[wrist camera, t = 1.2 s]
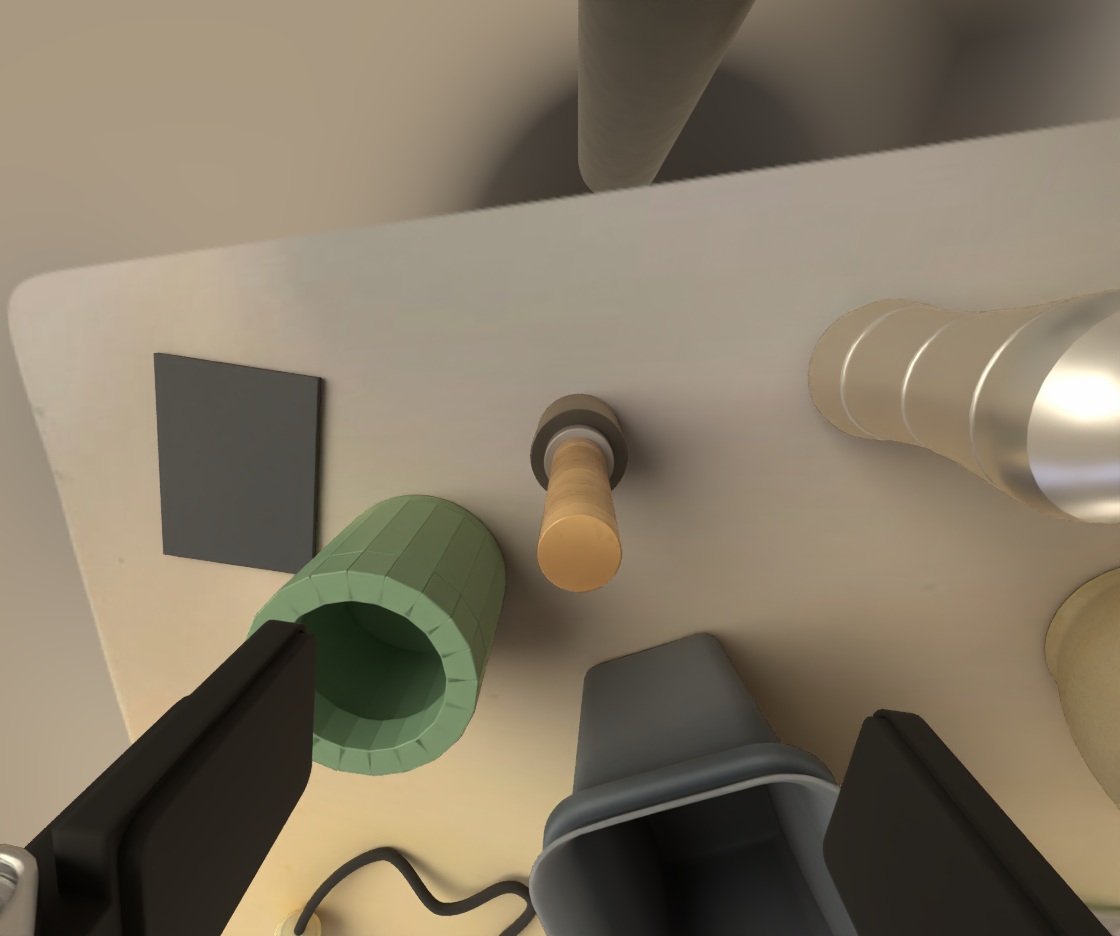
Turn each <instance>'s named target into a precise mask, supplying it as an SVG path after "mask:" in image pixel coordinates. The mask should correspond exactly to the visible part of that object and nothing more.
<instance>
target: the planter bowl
mask: <svg viewBox="0 0 1120 936" xmlns="http://www.w3.org/2000/svg"><path fill="white" fill-rule="evenodd" d="M1045 658H1046V663H1047V666H1048V668H1049V671H1050V673H1051V675H1052V677H1053V678H1054V680H1055V681H1056V682H1057V684H1058V688H1059V694H1060V700H1061V704H1062V708H1063V711H1064V715H1065V718H1066V721H1067V724H1068V726H1069V729H1070V732H1071V734H1072V737H1073V739H1074V741H1075V744H1076V746H1077V748H1078V750H1079V752H1080V754H1081V755H1082V757H1083V759H1084V761H1085V763H1086V764H1087V766H1088V768H1089V769H1090V771H1091V772H1092V774H1093V775H1094V777H1095V778H1096V780H1097V781H1098V782H1099V784H1100V785H1101V787H1102V788H1103V789H1104V791H1105V792H1106V793H1107V795H1108V796H1109V797H1110V799H1111V800H1112V801H1113V802H1114V804H1115V805H1116V806H1117V807H1118V808H1119V810H1120V568H1117V569H1114V570H1111V571H1109V572H1106V573H1104V574H1102V575H1100V576H1098V577H1096V578H1094V579H1093V580H1091V581H1089V582H1087V583H1086V584H1084V585H1083V586H1081V587H1080V588H1079V589H1078V590H1076V591H1075V592H1074V593H1073V594H1072V595H1071V596H1070V597H1069V598H1068V599H1067V600H1066V601H1065V602H1064V604H1063V605H1062V606H1061V607H1060V609H1059V610H1058V611H1057V613H1056V615H1055V617H1054V618H1053V620H1052V622H1051V624H1050V627H1049V630H1048V633H1047V636H1046V642H1045Z"/></svg>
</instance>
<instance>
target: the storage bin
mask: <svg viewBox="0 0 1120 936" xmlns="http://www.w3.org/2000/svg"><path fill="white" fill-rule="evenodd" d="M840 789H841V788H840V787H838V786H837V783H836V781H835V779H834V777H833V775H832V773H831V771H830V770H829V769H828V768H827V767H826V765H825V764H824V763H823V762H822V761H820V760H819V759H818V758H817V757H815V756H814V755H812V754H810V753H809V752H807V751H804V750H802V749H800V748H797V747H794V746H791V745H787V744H782V743H781V742H780V740H779V739H778V737H777V736H776V734H775V732H774V731H773V729H772V728H771V726H770V724H769V723H768V721H767V720H766V718H765V717H764V715H763V713H762V712H761V710H760V708H759V707H758V705H757V704H756V702H755V700H754V699H753V697H752V695H751V694H750V692H749V690H748V689H747V687H746V686H745V684H744V682H743V681H742V679H741V677H740V676H739V674H738V672H737V671H736V669H735V667H734V666H733V664H732V663H731V661H730V659H729V658H728V656H727V654H726V653H725V651H724V649H723V648H722V646H721V645H720V643H719V641H718V640H717V639H716V638H715V637H714V636H712V635H709V634H707V633H701V634H696V635H693V636H690V637H686V638H683V639H680V640H677V641H674V642H671V643H668V644H664V645H661V646H658V647H655V648H652V649H649V650H645V651H642V652H639V653H636V654H633V655H629V656H626V657H623V658H620V659H616V660H613V661H609V662H606V663H603V664H600V665H597V666H594V667H592V668H591V669H589V670H588V672H587V673H586V675H585V678H584V686H583V696H582V706H581V716H580V726H579V736H578V746H577V756H576V766H575V775H574V785H573V794H572V795H571V796H569V797H567V798H566V799H564V800H563V801H562V802H560V803H559V804H558V805H557V806H556V808H555V809H554V810H553V811H552V813H551V814H550V816H549V818H548V820H547V822H546V826H545V830H544V838H543V851H542V853H541V854H540V855H539V856H538V858H537V859H536V861H535V863H534V865H533V867H532V870H531V874H530V877H529V894H530V898H531V902H532V905H533V907H534V909H535V911H536V914H537V916H538V918H539V920H540V922H541V924H542V927H543V929H544V931H545V933H546V935H547V936H858V935H857V933H856V930H855V928H854V926H853V924H852V922H851V920H850V917H849V915H848V913H847V911H846V909H845V907H844V904H843V902H842V900H841V898H840V896H839V893H838V891H837V889H836V887H835V885H834V883H833V880H832V878H831V876H830V874H829V872H828V869H827V867H826V864H825V861H824V857H823V840H824V836H825V834H826V831H827V828H828V825H829V822H830V819H831V816H832V813H833V810H834V807H835V804H836V801H837V798H838V795H839V792H840Z"/></svg>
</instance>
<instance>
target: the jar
mask: <svg viewBox="0 0 1120 936" xmlns="http://www.w3.org/2000/svg"><path fill="white" fill-rule="evenodd" d="M505 587H506V571H505V564H504V560H503V556H502V554H501V551H500V548H499V546H498V544H497V543H496V541H495V539H494V537H493V536H492V535H491V533H490V532H489V530H488V529H487V528H486V527H485V526H484V525H483V524H482V523H481V521H479V520H478V519H477V518H476V517H475V516H473V515H472V514H471V513H469V512H468V511H466V510H465V509H463V508H462V507H460V506H458V505H456V504H454V503H452V502H449V501H446V500H443V499H440V498H435V497H431V496H422V495H408V496H400V497H395V498H391V499H388V500H385V501H383V502H380V503H378V504H376V505H374V506H373V507H371V508H369V509H368V510H366V511H365V512H364V513H363V514H362V515H360V516H358V517H357V518H356V519H355V520H354V521H353V522H352V523H351V524H350V525H349V526H347V527H346V528H345V529H344V530H343V531H342V532H341V533H340V534H339V535H338V536H337V537H336V538H335V539H333V540H332V541H331V542H330V543H329V544H328V545H327V546H326V547H325V548H324V549H323V550H322V551H321V552H320V553H318V554H317V555H316V556H315V557H314V558H313V559H312V560H311V561H310V562H309V563H308V564H307V565H306V566H304V567H303V568H302V569H301V570H300V571H299V572H298V573H297V574H296V575H295V576H294V577H293V578H292V579H291V580H289V581H288V582H287V583H286V584H285V585H284V586H283V587H282V588H281V589H280V590H279V591H278V592H277V593H276V594H275V595H274V596H273V597H272V598H271V599H270V600H269V601H268V602H267V603H266V604H265V605H264V607H263V608H262V609H261V610H260V611H259V612H258V613H257V614H256V616H255V617H254V620H253V622H252V625H251V628H250V630H249V633H248V635H247V638H246V640H247V639H248V638H249V637H250V636H251V635H252V634H254V633H255V632H256V631H257V630H258V629H259V628H260V627H261V626H262V625H263V624H264V623H265V622H266V621H268V620H272V619H273V620H280V621H286V622H293V623H300V624H304V625H306V626H307V629H308V634H313V635H315V636H316V639H317V652H316V677H315V701H314V726H313V750H312V761H314V762H316V763H319V764H321V765H324V766H326V767H328V768H331V769H333V770H336V771H337V770H338V771H343V772H349V773H356V774H363V775H372V776H377V775H386V774H395V773H404V772H407V771H410V770H412V769H414V768H417V767H419V766H422V765H424V764H426V763H429V762H431V761H433V760H435V759H437V758H438V757H440V756H441V755H442V754H443V753H444V752H445V751H446V750H448V749H449V748H450V747H451V746H452V745H453V744H454V743H456V742H457V741H458V740H459V739H460V738H461V736H462V734H463V732H464V731H465V729H466V727H467V725H468V723H469V721H470V720H471V718H472V716H473V714H474V712H475V709H476V705H477V701H478V697H479V693H480V690H481V686H482V681H483V678H484V674H485V670H486V666H487V663H488V659H489V655H490V651H491V647H492V643H493V639H494V635H495V632H496V628H497V624H498V620H499V616H500V612H501V608H502V602H503V597H504V592H505ZM246 640H245V641H246Z"/></svg>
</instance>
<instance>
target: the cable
mask: <svg viewBox="0 0 1120 936" xmlns="http://www.w3.org/2000/svg"><path fill="white" fill-rule="evenodd" d="M380 860H385V861H388V862H390V863H392V864H393V865H394V866H395V867H396V868H397V869H398V870H399V871H400V872H401V873H402V874H403V876H404V877H405V878H406V880H407V881H408V883H409V884H410V886H411V887H412V889H413V890H414V892H415V893H416V895H417V896H418V897H419V899H420V900H421V901H422V903H423V904H424V905H425V906H426V907H427V908H428V909H429V910H430V911H432V912H433V913H434V914H437V915H440V916H452V915H458V914H461V913H465V912H467V911H470V910H472V909H474V908H476V907H478V906H480V905H482V904H484V903H485V902H487V901H489V900H491V899H493V898H495V897H497V896H499V895H502V894H506V893H514V894H517V895H519V896H520V897H522V898H523V899H525V901H526V902H527V908H526V910H525V911H524V913H523V914H522V915H521V916H520V917H519V918H518V919H517V920H516V921H515V922H514V923H513V924H512V925H511V926H509V927H508V928H507V929H506V930H505V931H503V932H502V933H501V934H500V935H499V936H516V935H518V934H519V933H520V932H521V931H522V930H523V929H524V928H525V927H526V926H527V925H528V924H529V923H530V921H531V920H532V918H533V917H534V915H535V913H536V911H535V909H534V907H533V905H532V902H531V898H530V894H529V888H528V887H527V886H525V885H524V884H522V883H520V882H517V881H510V880H508V881H503V882H499V883H497V884H494V885H492V886H490V887H488V888H486V889H484V890H483V891H481V892H479V893H477V894H475V895H473V896H471V897H469V898H467V899H464V900H461V901H458V902H453V903H443V902H440V901H438V900H437V899H435V898H434V897H433V896H432V894H431V893H430V892H429V891H428V889H427V888H426V886H425V885H424V883H423V882H422V881H421V879H420V878H419V876H418V875H417V873H416V872H415V870H414V869H413V867H412V866H411V865H410V864H409V862H408V861H407V860H406V859H405V858H404V857H403V856H402V855H401V854H399V853H398V852H396V851H395V850H392V849H389V848H379V849H375V850H371V851H368V852H366V853H363V854H361V855H359V856H357V857H355V858H354V859H352V860H350V861H349V862H347V863H346V864H344V865H343V866H341V867H340V868H339V869H338V870H336V871H335V872H334V873H333V874H332V875H331V876H330V877H329V878H328V879H326V880H325V881H324V883H323V884H322V885H321V886H320V887H319V888H318V889H317V891H316V892H315V893H314V895H313V896H312V897H311V899H310V900H309V902H308V903H307V905H306V906H305V908H304V909H299V910H295V911H293V912H291V913H289V914H288V915H287V916H285V917H284V918H283V920H282V921H281V922H280V924H279V925H278V927H277V930H276V932H275V935H274V936H321V922H320V920H319V918H318V916H317V915H316V914H315V913H314V911H315V909H316V908H317V907H318V905H319V904H320V902H321V901H322V900H323V898H324V897H325V896H326V895H327V894H328V893H329V891H330V890H331V889H332V888H333V887H334V886H335V885H336V884H338V883H339V882H340V881H341V880H342V879H343V878H345V877H346V876H347V875H349V874H350V873H352V872H353V871H355V870H357V869H358V868H360V867H362V866H364V865H367V864H369V863H372V862H375V861H380Z"/></svg>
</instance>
